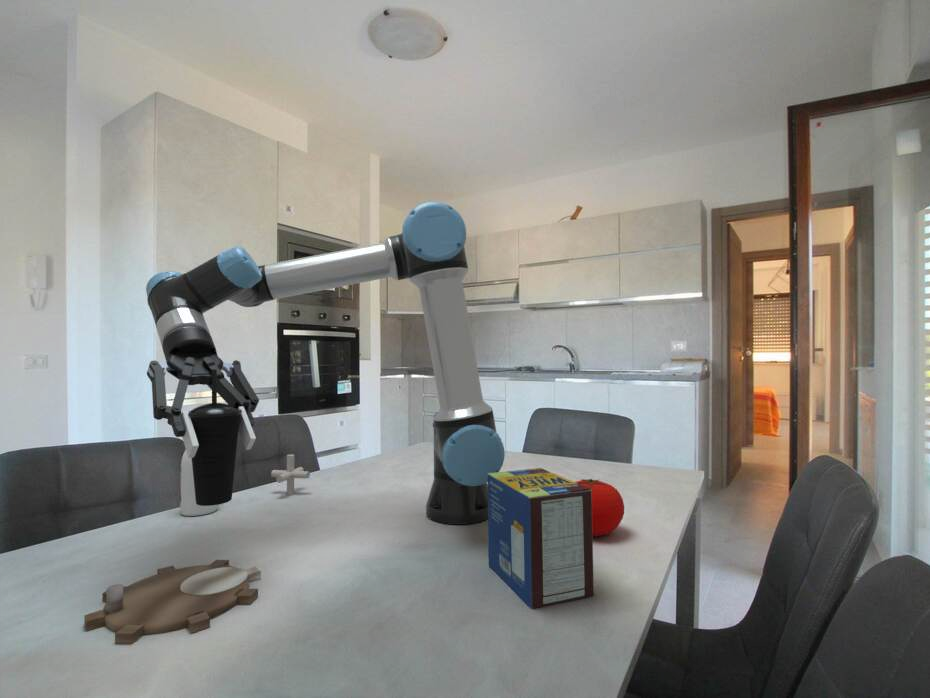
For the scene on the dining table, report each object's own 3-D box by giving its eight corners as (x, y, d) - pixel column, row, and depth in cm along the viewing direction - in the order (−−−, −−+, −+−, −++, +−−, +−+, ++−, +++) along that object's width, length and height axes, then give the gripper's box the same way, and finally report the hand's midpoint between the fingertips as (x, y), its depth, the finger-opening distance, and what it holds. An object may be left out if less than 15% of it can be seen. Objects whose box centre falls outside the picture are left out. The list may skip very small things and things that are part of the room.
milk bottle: (226, 508, 113) (226, 423, 113) (195, 518, 106) (195, 427, 106) (203, 505, 116) (204, 421, 116) (172, 514, 109) (172, 425, 109)
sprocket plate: (286, 568, 80) (286, 542, 80) (210, 645, 58) (210, 610, 58) (159, 566, 81) (159, 541, 81) (38, 641, 59) (38, 607, 60)
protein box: (542, 556, 84) (541, 467, 84) (595, 597, 70) (593, 488, 70) (486, 565, 80) (485, 472, 81) (530, 610, 66) (529, 496, 66)
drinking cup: (203, 512, 68) (203, 370, 68) (174, 503, 72) (175, 369, 72) (252, 498, 74) (252, 368, 75) (223, 491, 78) (223, 368, 79)
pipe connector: (297, 500, 119) (297, 459, 119) (261, 498, 121) (261, 458, 121) (317, 489, 129) (317, 452, 129) (284, 488, 131) (284, 451, 131)
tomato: (573, 519, 103) (572, 470, 104) (629, 528, 98) (628, 476, 98) (554, 537, 93) (553, 482, 93) (616, 548, 87) (615, 490, 87)
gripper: (240, 357, 92) (280, 453, 80) (111, 356, 77) (137, 475, 65) (253, 327, 88) (296, 424, 77) (119, 321, 73) (148, 440, 62)
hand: (223, 447), depth 71 cm, fingers closed on drinking cup, 7 cm apart
